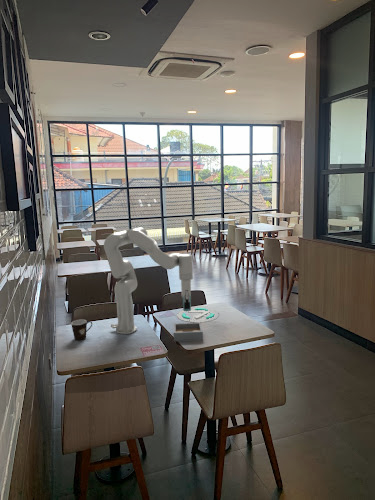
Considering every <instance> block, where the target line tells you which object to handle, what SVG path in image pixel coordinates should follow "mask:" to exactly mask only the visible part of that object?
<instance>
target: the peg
mask: <svg viewBox="0 0 375 500" xmlns="http://www.w3.org/2000/svg"><path fill="white" fill-rule="evenodd" d="M185 293H186V292H185ZM185 297H186V296H185ZM188 297H189V295H188ZM185 299H186V298H185ZM185 299H184V297H182V307H183V309H182V310H183V311H191V308H192V301H191V300H192V295H190V297H189V302H190V309H184V302H185V301H186V300H185Z"/></svg>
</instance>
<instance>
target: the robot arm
mask: <svg viewBox="0 0 375 500" xmlns="http://www.w3.org/2000/svg"><path fill="white" fill-rule="evenodd" d="M148 234H149V233H148V231H147V230H146V229H145V228H144V227H140V226H139V227H134V228H130V229H126V230H125V229H124V230H121V231H116V232H113V233H110V234H109V235H108V236H107V237H105V240H104V242H103V250H104V252H105V255H106V257H107V262H108V265H109V269H110V272H111V275H112V276H113V278H114V279H120V280H118V281H117V282H116V283H115V285H114V289H113V291H114V295H115V300H116V301H115V302H116V315H117V323H114V324H113V323H110V328H112V329H115V332H116V333H117V334H119V335H130V334H133V333H135V332H137V330H138V327H137V326H136V325H135V317H134V302H133V298H132V293H133V292H134V291H135V290H136V289H137V287H138V280H137V279H138V278H137V276H136V272H135V270H134V266H133V263H132V262H131V261H129V260H128V259H124V258H123V256H122V255H123V254H122V253H121V251H120V249H119V248H120V247H122V246H125V245H129V244H133V245H134V246H136V247H138V248H139V249H141V250H142V251H144V252H145V253H147V254H148V256H149V257H150V258H151V260H152V261H154V263H156V264H157V265H159V266H160V267H162V268H164V269H166V270H173V269H174V268H175V267H178V274H179V277H178V278H179V280H181V281H180V283H181V284H180V285H181V286H180V287H181V289H180V290H181V297H182V298H183V297H184V299H185V298H186V299H185V300H186V301H185V302H184V309H190V302H189V297H190V295H191V294H192V293H191V292H192V291H191V290H192V284H191V280H193V278H194V277H193V256H192V255H191V254H189V253H183V254H182V253H176V252H174V253H173V252H171V253H170V254H167V253H165V252H163V251H162V250H161V249H160V247H159V245H158V241H156V240H155V239H154V238H152V237H151V236H149V235H148ZM185 292H186V293H185ZM188 295H189V297H188ZM185 296H186V297H185ZM191 296H192V295H191Z"/></svg>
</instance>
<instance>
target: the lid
mask: <svg viewBox="0 0 375 500" xmlns="http://www.w3.org/2000/svg"><path fill="white" fill-rule="evenodd" d="M206 308H207V307H191V311H188V313H201V314H196V315H193V318H192V320H190V321H189V319H190V317H189V316H186V314H185V313H183V312H185V311H183V309H182V310H180V311H178V313H179V314H177V313H176V318H177V319H178V320H180V321H182V322H185V321H186V322H185V323H193V322H194V323H196V322H197V323H198V322H200V323H201V324H202V322H203V323H208V322H212V321H215V320H214V319H212V320H211V319H209V318H212V317H214V315H215V314H213V313H210V312H211V311H208V309H206ZM195 310H197V311H195ZM198 310H205V311H198ZM186 312H187V311H186ZM208 313H210V315H209V316H207V317H206V318H204V317H205V316H204V315H207V314H208ZM202 317H203V318H202ZM194 318H195V319H194ZM187 319H188V320H187ZM193 319H194V320H195V321H194V320H193ZM205 319H206V320H205ZM208 319H209V321H208ZM187 321H188V322H187ZM207 321H208V322H207Z"/></svg>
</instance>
